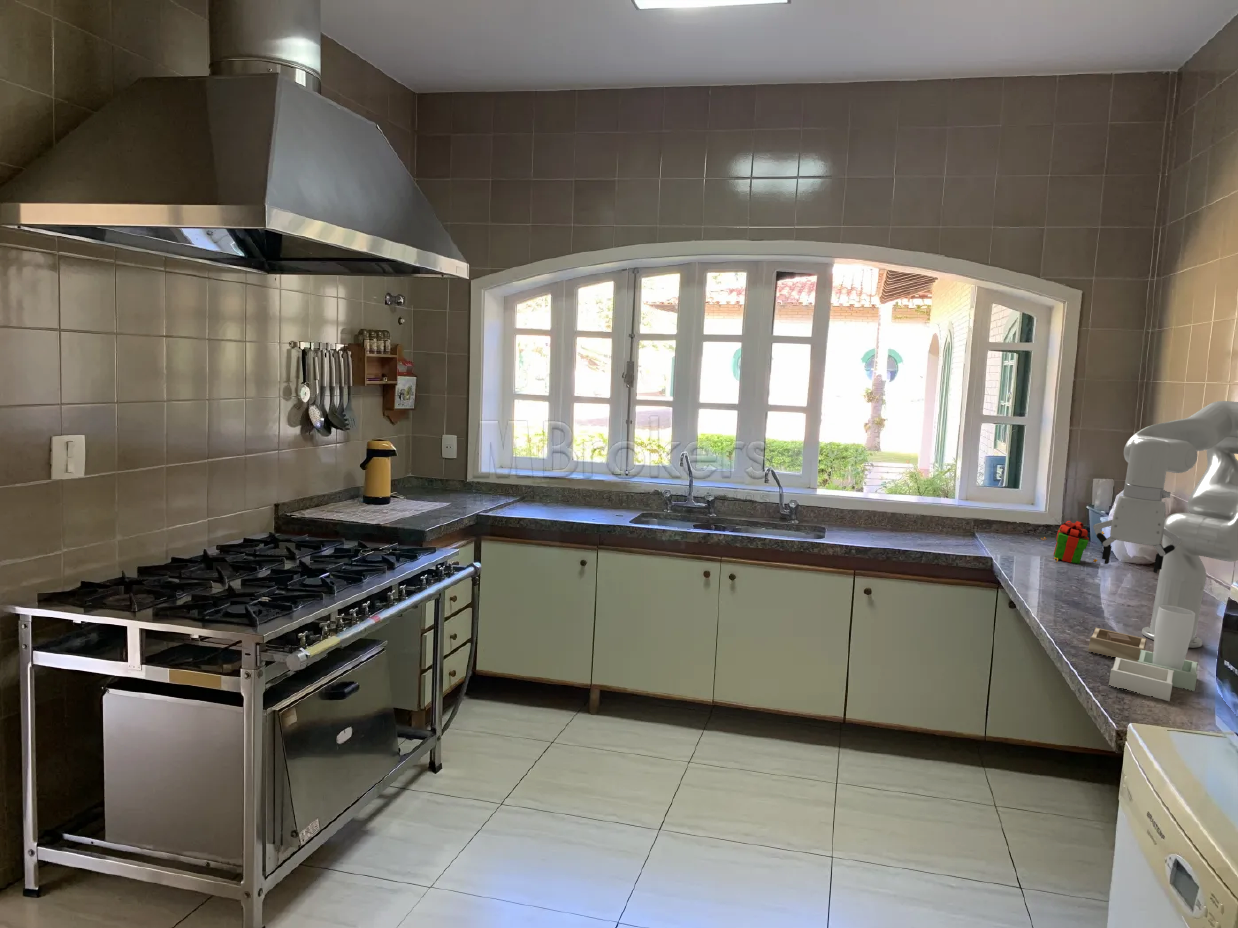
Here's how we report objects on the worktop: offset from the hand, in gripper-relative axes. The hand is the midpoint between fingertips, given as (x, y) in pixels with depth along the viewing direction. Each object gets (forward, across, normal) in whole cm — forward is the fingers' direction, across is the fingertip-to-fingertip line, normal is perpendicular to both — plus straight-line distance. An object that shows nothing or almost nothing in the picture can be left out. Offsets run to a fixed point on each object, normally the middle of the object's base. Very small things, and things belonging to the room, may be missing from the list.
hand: (1130, 567), depth 195 cm
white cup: (+20, -10, +11) cm, 25 cm away
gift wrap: (+21, +23, -108) cm, 112 cm away
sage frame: (+20, -10, +11) cm, 25 cm away
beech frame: (+20, 0, 0) cm, 20 cm away
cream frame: (+20, -6, +22) cm, 30 cm away
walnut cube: (+20, 0, 0) cm, 20 cm away
